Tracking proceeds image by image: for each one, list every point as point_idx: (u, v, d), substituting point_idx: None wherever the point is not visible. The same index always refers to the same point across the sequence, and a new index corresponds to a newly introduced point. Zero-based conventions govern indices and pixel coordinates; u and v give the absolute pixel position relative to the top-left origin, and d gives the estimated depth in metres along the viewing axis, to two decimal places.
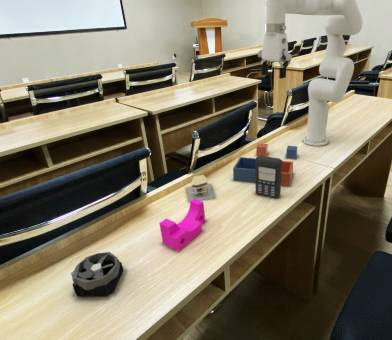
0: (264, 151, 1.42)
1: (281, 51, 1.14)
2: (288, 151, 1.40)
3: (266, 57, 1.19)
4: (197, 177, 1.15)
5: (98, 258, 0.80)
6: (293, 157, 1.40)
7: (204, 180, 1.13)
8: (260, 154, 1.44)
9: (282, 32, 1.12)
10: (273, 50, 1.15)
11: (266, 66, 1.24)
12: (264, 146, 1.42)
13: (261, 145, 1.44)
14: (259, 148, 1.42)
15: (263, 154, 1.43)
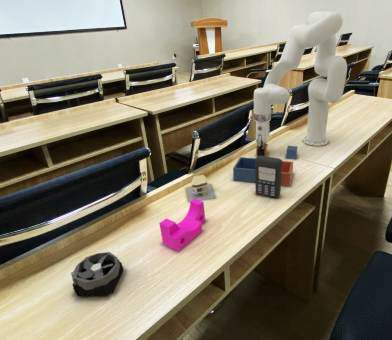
0: (264, 151, 1.42)
1: (257, 135, 1.37)
2: (288, 151, 1.40)
3: None
4: (197, 177, 1.15)
5: (98, 258, 0.80)
6: (293, 157, 1.40)
7: (204, 180, 1.13)
8: None
9: (261, 121, 1.35)
10: None
11: None
12: (264, 146, 1.42)
13: None
14: None
15: None
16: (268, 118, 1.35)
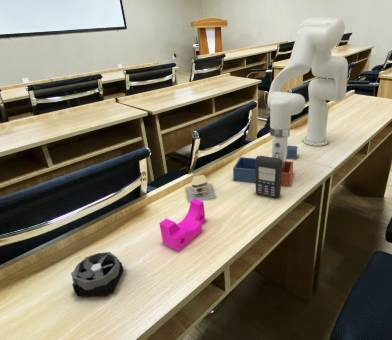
0: None
1: (273, 154, 1.15)
2: (288, 151, 1.40)
3: None
4: (197, 177, 1.15)
5: (98, 258, 0.80)
6: (293, 157, 1.40)
7: (204, 180, 1.13)
8: None
9: (278, 137, 1.12)
10: None
11: None
12: None
13: None
14: None
15: None
16: (287, 133, 1.13)
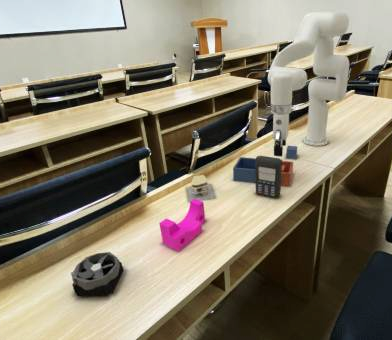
0: None
1: (275, 131, 1.11)
2: (288, 151, 1.40)
3: None
4: (197, 177, 1.15)
5: (98, 258, 0.80)
6: (293, 157, 1.40)
7: (204, 180, 1.13)
8: None
9: (279, 113, 1.09)
10: None
11: None
12: None
13: None
14: None
15: None
16: (289, 109, 1.09)
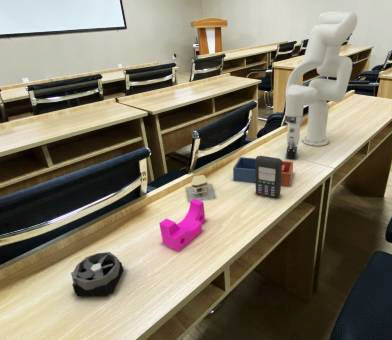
0: None
1: (288, 138, 1.34)
2: None
3: None
4: (197, 177, 1.15)
5: (98, 258, 0.80)
6: None
7: (204, 180, 1.13)
8: None
9: (293, 123, 1.32)
10: None
11: None
12: None
13: None
14: None
15: None
16: (300, 120, 1.32)
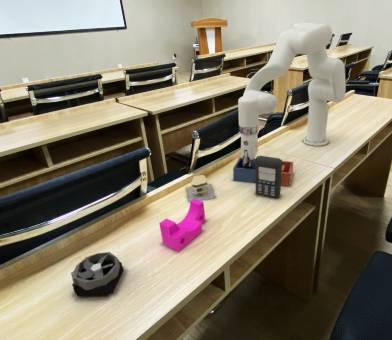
0: None
1: (242, 151, 1.17)
2: None
3: None
4: (197, 177, 1.15)
5: (98, 258, 0.80)
6: None
7: (204, 180, 1.13)
8: None
9: (246, 134, 1.15)
10: None
11: None
12: None
13: None
14: None
15: None
16: (255, 131, 1.15)
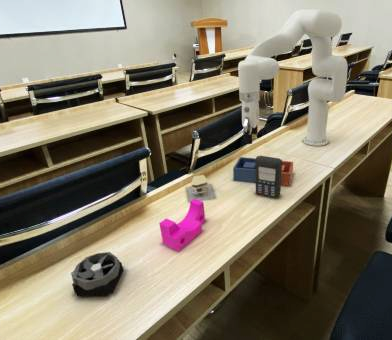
0: None
1: (243, 118, 1.13)
2: (245, 168, 1.24)
3: None
4: (197, 177, 1.15)
5: (98, 258, 0.80)
6: None
7: (204, 180, 1.13)
8: None
9: (247, 100, 1.11)
10: None
11: None
12: None
13: None
14: None
15: None
16: (256, 97, 1.11)
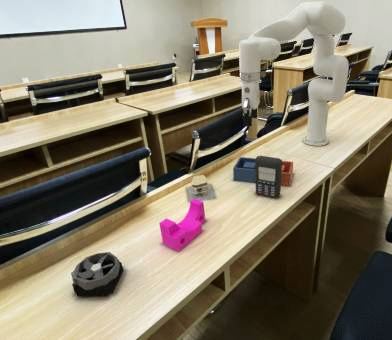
0: None
1: (243, 99, 1.11)
2: (245, 168, 1.24)
3: None
4: (197, 177, 1.15)
5: (98, 258, 0.80)
6: None
7: (204, 180, 1.13)
8: None
9: (248, 81, 1.09)
10: None
11: (254, 110, 1.22)
12: None
13: None
14: None
15: None
16: (257, 77, 1.09)
